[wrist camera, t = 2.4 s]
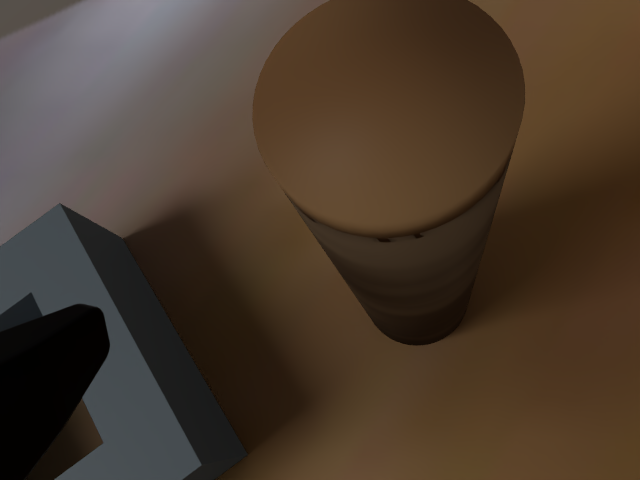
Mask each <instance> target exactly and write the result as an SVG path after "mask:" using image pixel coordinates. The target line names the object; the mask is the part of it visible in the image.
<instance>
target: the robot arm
mask: <svg viewBox="0 0 640 480" xmlns="http://www.w3.org/2000/svg"><path fill="white" fill-rule="evenodd" d="M109 350H110V341H109V336H108V331H107V326H106V322H105V317H104V313H103V312H102V310H101V309H100V308H98V307H95V306H91V305H86V304H80V303H79V304H74V305H72V306H69V307H66V308H64V309H61V310H58V311H55V312H53V313H50V314H47V315H44V316H42V317H39V318H36V319H33V320H31V321H28V322H25V323H22V324H20V325H17V326H14V327H12V328H9V329H6V330H3V331H1V332H0V480H25V479H26V477H27V476H28V475H29V473H30V472H31V471H32V469H33V468H34V467H35V465H36V464H37V463H38V461H39V460H40V459H41V458H42V456H43V455H44V454H45V452H46V451H47V450H48V448H49V447H50V446H51V444H52V443H53V442H54V440H55V439H56V437H57V436H58V435H59V433H60V432H61V430H62V429H63V427H64V426H65V424H66V423H67V421H68V420H69V418H70V417H71V415H72V413H73V412H74V410H75V409H76V407H77V405H78V404H79V402H80V400H81V399H82V397H83V396H84V394H85V392H86V391H87V389H88V387H89V386H90V384H91V383H92V381H93V379H94V378H95V376H96V374H97V373H98V371H99V370H100V368H101V366H102V365H103V363H104V361H105V360H106V358H107V356H108V353H109Z"/></svg>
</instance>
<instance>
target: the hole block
mask: <svg viewBox="0 0 640 480" xmlns="http://www.w3.org/2000/svg"><path fill="white" fill-rule="evenodd" d="M79 303H80V304H86V305H91V306H95V307H98V308H100V309H101V310H102V312H103V313H104V317H105V322H106V326H107V331H108V336H109V341H110V350H109V353H108V356H107V358H106V360H105V361H104V363H103V365H102V366H101V368H100V370H99V371H98V373H97V374H96V376H95V378H94V379H93V381H92V383H91V384H90V386H89V387H88V389H87V391H86V392H85V394H84V396H83V397H82V399H83V401H84V403H85V405H86V407H87V409H88V411H89V413H90V415H91V417H92V420H93V422H94V424H95V426H96V428H97V430H98V432H99V434H100V436H101V438H102V440H103V442H104V443H103V444H102V445H100V446H99V447H97V448H96V449H95V450H93V451H92V452H91V453H89V454H88V455H87V456H85V457H84V458H83V459H81V460H80V461H79V462H77V463H76V464H75V465H73V466H72V467H70V468H69V469H68V470H66V471H65V472H64V473H62V474H61V475H60V476H58V477H57V478H56V479H54V480H215V479H216V478H217V477H219V476H220V475H221V474H223V473H224V472H225V471H227V470H228V469H229V468H231V467H232V466H233V465H235V464H236V463H237V462H239V461H240V460H241V459H243V458H244V457H245V456H247V455H248V454H247V453H246V451H245V449H244V447H243V446H242V444H241V442H240V440H239V439H238V437H237V435H236V434H235V432H234V430H233V428H232V427H231V425H230V423H229V421H228V420H227V418H226V416H225V415H224V413H223V411H222V409H221V408H220V406H219V404H218V402H217V401H216V399H215V397H214V396H213V394H212V392H211V390H210V389H209V387H208V385H207V384H206V382H205V380H204V378H203V377H202V375H201V373H200V371H199V370H198V368H197V366H196V365H195V363H194V361H193V359H192V358H191V356H190V354H189V352H188V351H187V349H186V347H185V346H184V344H183V342H182V340H181V339H180V337H179V335H178V333H177V332H176V330H175V328H174V327H173V325H172V323H171V321H170V320H169V318H168V316H167V315H166V313H165V311H164V309H163V308H162V306H161V304H160V302H159V301H158V299H157V297H156V296H155V294H154V292H153V290H152V289H151V287H150V285H149V283H148V282H147V280H146V278H145V277H144V275H143V273H142V271H141V270H140V268H139V266H138V265H137V263H136V261H135V259H134V258H133V256H132V254H131V252H130V251H129V249H128V247H127V246H126V244H125V242H124V240H123V239H122V238H121V237H119V236H118V235H116V234H114V233H112V232H110V231H109V230H107V229H105V228H103V227H101V226H100V225H98V224H96V223H94V222H92V221H91V220H89V219H87V218H85V217H84V216H82V215H80V214H78V213H76V212H75V211H73V210H71V209H69V208H67V207H66V206H64V205H62V204H60V203H59V204H58V205H57V206H55V207H54V208H52V209H51V210H50V211H48V212H47V213H46V214H44V215H43V216H41V217H40V218H39V219H37V220H36V221H35V222H33V223H32V224H30V225H29V226H28V227H26V228H25V229H24V230H22V231H21V232H19V233H18V234H17V235H15V236H14V237H13V238H11V239H10V240H9V241H7V242H6V243H4V244H3V245H2V246H0V332H1V331H3V330H6V329H9V328H12V327H14V326H17V325H20V324H22V323H25V322H28V321H31V320H33V319H36V318H39V317H42V316H44V315H47V314H50V313H53V312H55V311H58V310H61V309H64V308H66V307H69V306H72V305H74V304H79Z"/></svg>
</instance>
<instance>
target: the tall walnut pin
mask: <svg viewBox="0 0 640 480" xmlns="http://www.w3.org/2000/svg"><path fill="white" fill-rule="evenodd" d="M524 104H525V83H524V76H523V70H522V67H521V64H520V61H519V57H518V54H517V52H516V50H515V48H514V47H513V45H512V43H511V41H510V39H509V38H508V36H507V35H506V34H505V32H504V31H503V29H502V28H501V27H500V26H499V25H498V24H497V23H496V22H495V21H494V20H493V18H492V17H491V16H489V15H488V14H487V13H486V12H484V11H483V10H482V9H480V8H479V7H478V6H476V5H475V4H473V3H471V2H469V1H468V0H330V1H328V2H326V3H324V4H322V5H320V6H319V7H317V8H316V9H314V10H313V11H311V12H310V13H308V14H307V15H306V16H304V17H303V18H302V19H301V20H299V21H298V22H297V23H296V24H295V25H294V26H293V27H292V28H291V29H290V30H289V31H288V32H287V33H286V34H285V35H284V36H283V37H282V38H281V40H280V41H279V42H278V43H277V45H276V46H275V47H274V49H273V50H272V52H271V54H270V55H269V57H268V59H267V60H266V62H265V64H264V67H263V69H262V71H261V73H260V76H259V79H258V82H257V86H256V89H255V94H254V101H253V127H254V135H255V138H256V142H257V145H258V149H259V151H260V153H261V156H262V158H263V160H264V162H265V164H266V166H267V167H268V169H269V170H270V172H271V173H272V175H273V176H274V178H275V179H276V181H277V182H278V184H279V185H280V187H281V188H282V190H283V191H284V193H285V194H286V195H287V197H288V198H289V200H290V201H291V203H292V204H293V206H294V207H295V209H296V210H297V211H298V213H299V214H300V216H301V217H302V219H303V220H304V222H305V223H306V225H307V226H308V228H309V229H310V230H311V232H312V233H313V235H314V236H315V238H316V239H317V241H318V242H319V244H320V245H321V247H322V248H323V249H324V251H325V252H326V254H327V255H328V257H329V258H330V260H331V261H332V263H333V264H334V266H335V267H336V268H337V270H338V271H339V273H340V274H341V276H342V277H343V279H344V280H345V282H346V283H347V284H348V286H349V287H350V289H351V290H352V292H353V293H354V295H355V296H356V298H357V299H358V301H359V302H360V303H361V305H362V306H363V308H364V309H365V311H366V312H367V314H368V315H369V317H370V318H371V320H372V321H373V322H374V324H375V325H376V326H377V328H378V329H379V330H380V331H381V332H383V333H384V334H385V335H386V336H388V337H389V338H391V339H393V340H395V341H397V342H400V343H403V344H408V345H426V344H431V343H434V342H437V341H439V340H441V339H443V338H445V337H446V336H448V335H449V334H450V333H451V332H453V331H454V330H455V328H456V327H457V326H458V325H459V323H460V322H461V320H462V318H463V316H464V314H465V311H466V308H467V305H468V301H469V298H470V295H471V291H472V288H473V284H474V281H475V278H476V274H477V271H478V267H479V264H480V261H481V257H482V254H483V250H484V247H485V244H486V240H487V237H488V233H489V230H490V227H491V223H492V220H493V216H494V213H495V210H496V206H497V203H498V199H499V196H500V193H501V189H502V186H503V182H504V179H505V176H506V172H507V169H508V165H509V162H510V159H511V155H512V152H513V148H514V145H515V142H516V138H517V135H518V131H519V128H520V125H521V121H522V117H523V111H524Z"/></svg>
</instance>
